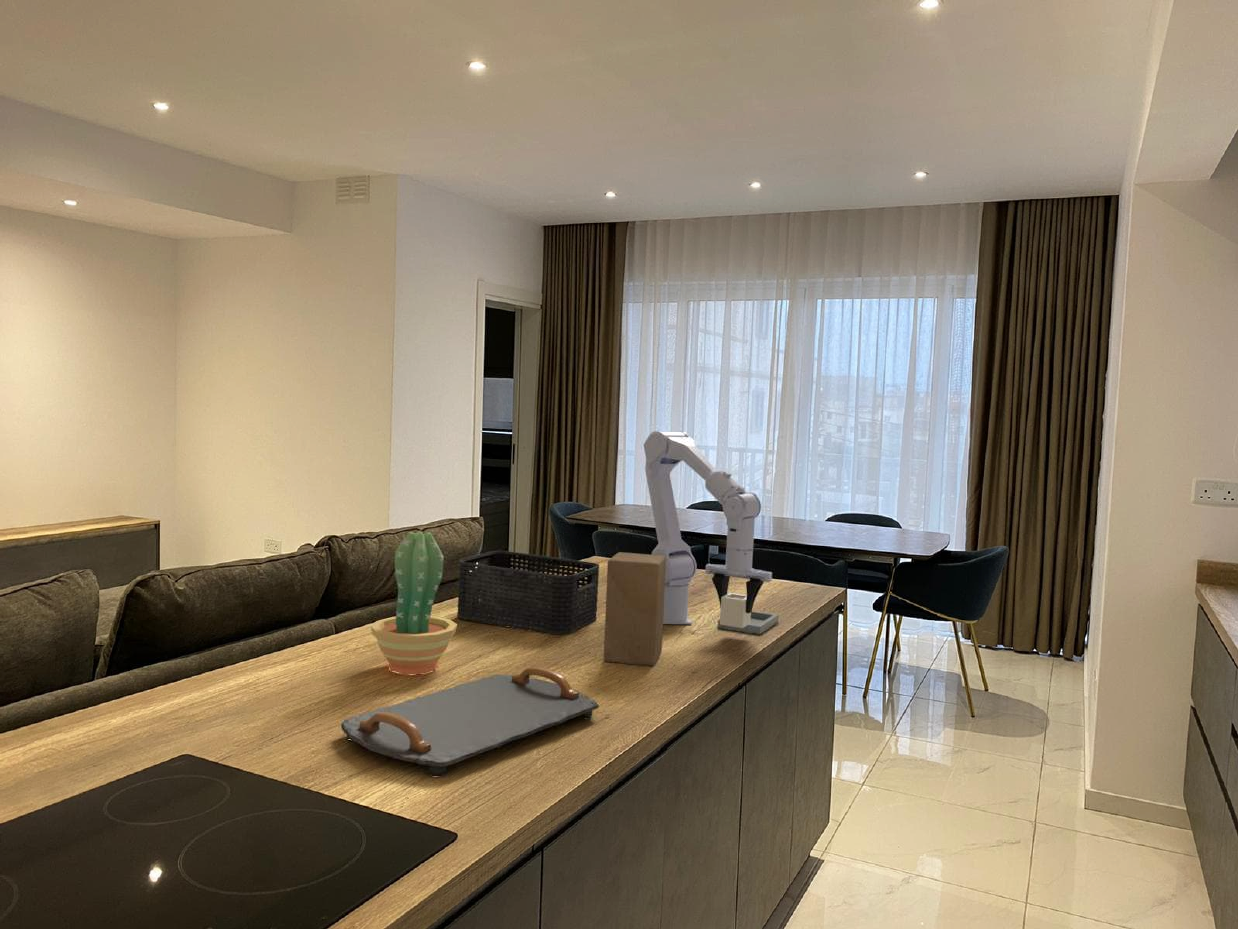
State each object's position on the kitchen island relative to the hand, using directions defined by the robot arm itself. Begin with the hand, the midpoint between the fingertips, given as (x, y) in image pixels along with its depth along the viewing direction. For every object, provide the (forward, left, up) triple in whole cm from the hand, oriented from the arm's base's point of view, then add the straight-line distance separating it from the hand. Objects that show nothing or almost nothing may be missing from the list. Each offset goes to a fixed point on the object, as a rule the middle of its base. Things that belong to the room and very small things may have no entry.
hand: (736, 610), depth 198 cm
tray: (+7, +11, -6) cm, 14 cm away
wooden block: (-25, -15, -6) cm, 30 cm away
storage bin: (-44, +16, -7) cm, 47 cm away
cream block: (0, 0, -3) cm, 3 cm away
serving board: (-55, -53, -7) cm, 77 cm away
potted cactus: (-67, -22, -6) cm, 71 cm away
